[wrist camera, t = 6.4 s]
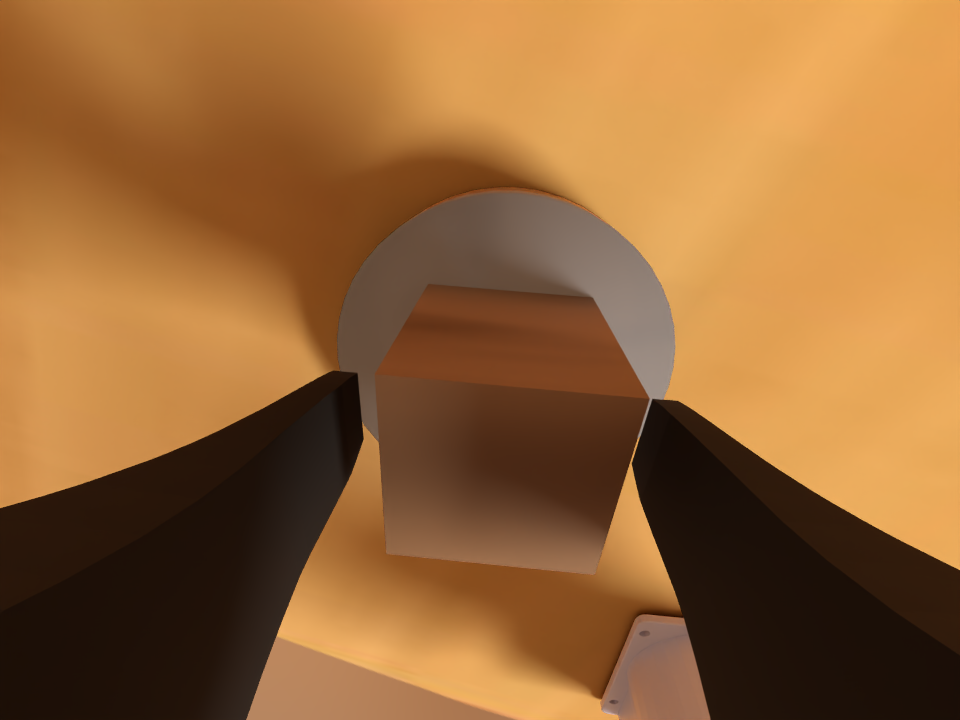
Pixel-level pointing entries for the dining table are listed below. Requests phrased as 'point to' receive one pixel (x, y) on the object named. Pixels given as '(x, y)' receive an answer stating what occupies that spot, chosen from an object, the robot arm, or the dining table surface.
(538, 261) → the grey disc
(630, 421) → the walnut block
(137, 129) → the dining table surface
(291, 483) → the robot arm
